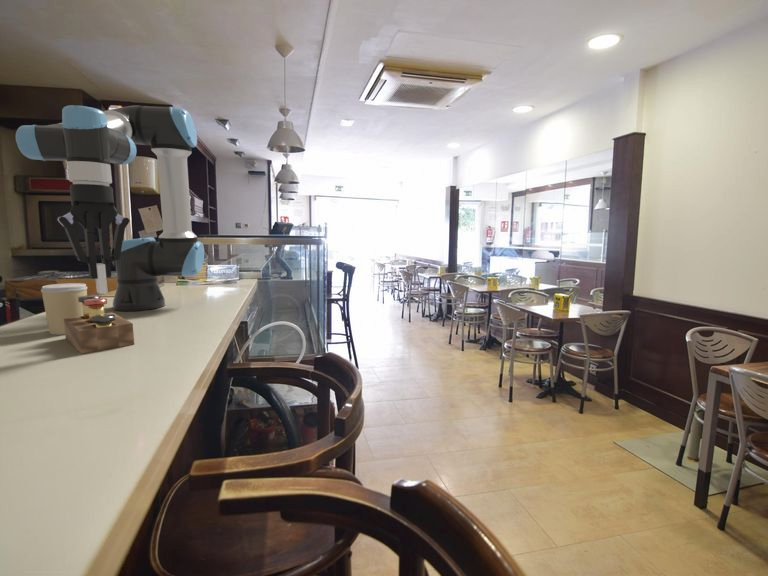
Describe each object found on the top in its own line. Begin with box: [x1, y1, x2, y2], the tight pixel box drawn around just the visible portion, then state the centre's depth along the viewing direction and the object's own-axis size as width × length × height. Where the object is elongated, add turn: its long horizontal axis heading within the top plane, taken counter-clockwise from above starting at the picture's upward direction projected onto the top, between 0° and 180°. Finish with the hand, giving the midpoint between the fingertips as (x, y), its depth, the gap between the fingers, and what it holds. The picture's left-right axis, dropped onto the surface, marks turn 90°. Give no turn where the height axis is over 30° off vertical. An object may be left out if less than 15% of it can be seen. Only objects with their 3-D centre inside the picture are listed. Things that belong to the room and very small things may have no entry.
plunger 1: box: [78, 294, 102, 319], centre depth 98 cm, size 4×4×6 cm
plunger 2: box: [91, 314, 115, 328], centre depth 91 cm, size 4×4×6 cm
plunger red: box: [84, 297, 108, 323], centre depth 94 cm, size 4×4×6 cm
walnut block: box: [64, 312, 135, 354], centre depth 95 cm, size 10×17×5 cm, turn 47°
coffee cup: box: [40, 282, 88, 336], centre depth 104 cm, size 9×9×12 cm
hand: (102, 292), depth 90 cm, fingers closed
